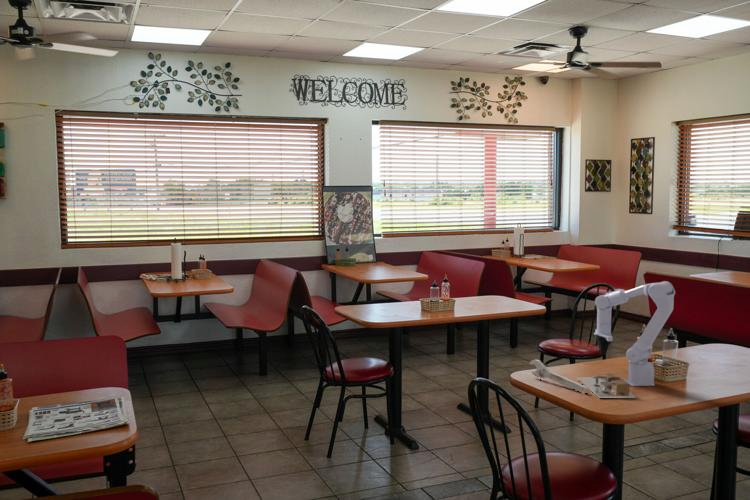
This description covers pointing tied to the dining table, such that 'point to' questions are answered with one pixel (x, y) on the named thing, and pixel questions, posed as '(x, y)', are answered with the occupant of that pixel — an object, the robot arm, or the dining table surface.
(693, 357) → the dining table surface
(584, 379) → the gauge plate
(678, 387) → the dining table surface
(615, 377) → the slider
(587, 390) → the wrench
